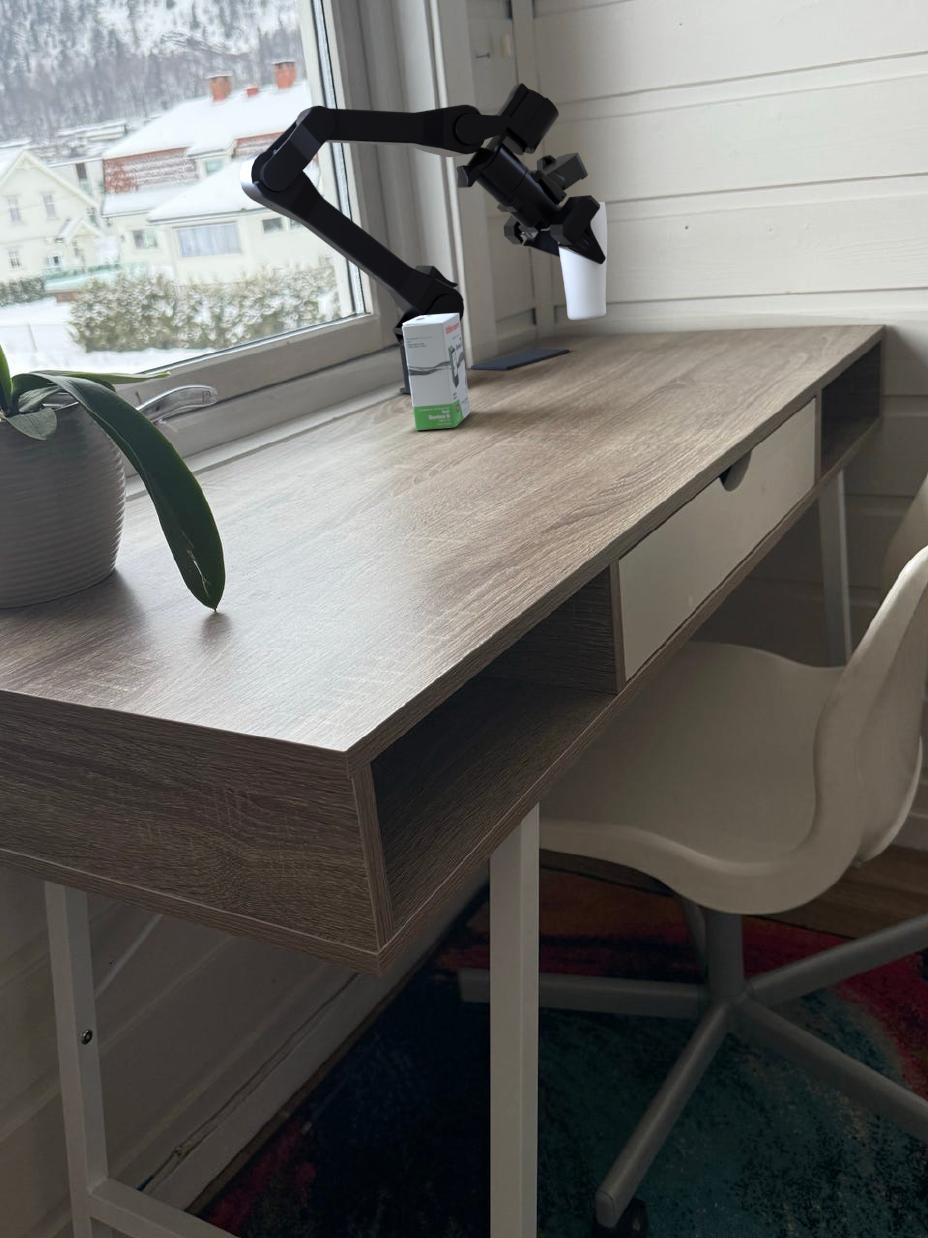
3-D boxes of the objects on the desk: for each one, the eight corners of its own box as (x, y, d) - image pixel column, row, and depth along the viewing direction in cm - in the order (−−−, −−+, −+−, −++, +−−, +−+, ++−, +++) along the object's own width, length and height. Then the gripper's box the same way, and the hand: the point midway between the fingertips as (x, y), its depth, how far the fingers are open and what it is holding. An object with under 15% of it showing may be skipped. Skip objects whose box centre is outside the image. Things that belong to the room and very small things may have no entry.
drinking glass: (572, 322, 155) (565, 204, 150) (555, 320, 161) (548, 207, 156) (619, 316, 156) (613, 200, 152) (601, 315, 163) (595, 203, 158)
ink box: (456, 428, 128) (443, 320, 124) (413, 431, 129) (399, 324, 125) (472, 412, 136) (460, 310, 131) (431, 415, 137) (418, 314, 133)
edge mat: (506, 369, 162) (506, 367, 162) (471, 368, 167) (470, 365, 167) (569, 351, 171) (569, 349, 171) (534, 351, 176) (533, 348, 176)
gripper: (581, 125, 141) (662, 210, 149) (516, 137, 157) (592, 213, 165) (529, 200, 141) (612, 281, 149) (469, 204, 157) (547, 277, 165)
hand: (591, 260), depth 157 cm, fingers closed on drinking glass, 6 cm apart
